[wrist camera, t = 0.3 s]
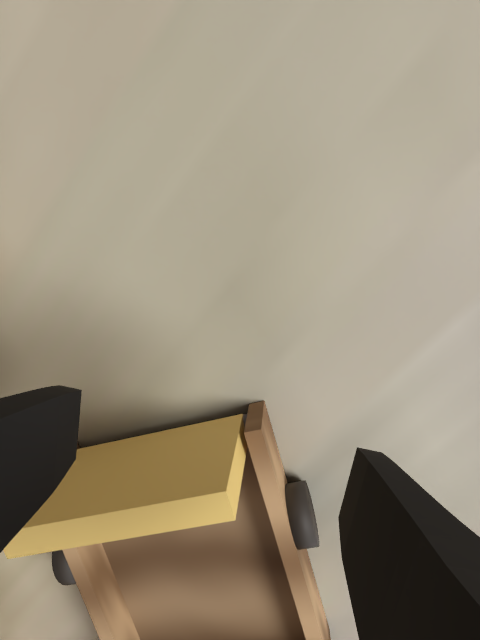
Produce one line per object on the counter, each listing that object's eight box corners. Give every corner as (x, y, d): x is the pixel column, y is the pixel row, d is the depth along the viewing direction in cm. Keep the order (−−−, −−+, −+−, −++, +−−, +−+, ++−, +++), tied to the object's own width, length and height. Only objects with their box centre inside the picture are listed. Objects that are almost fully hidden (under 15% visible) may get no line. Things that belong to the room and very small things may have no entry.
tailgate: (253, 429, 20) (240, 519, 14) (84, 464, 22) (2, 559, 15) (247, 408, 20) (231, 490, 14) (76, 445, 21) (-9, 534, 15)
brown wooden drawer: (346, 626, 23) (364, 734, 18) (132, 652, 25) (95, 755, 20) (283, 396, 20) (283, 449, 15) (48, 447, 22) (-18, 508, 17)
